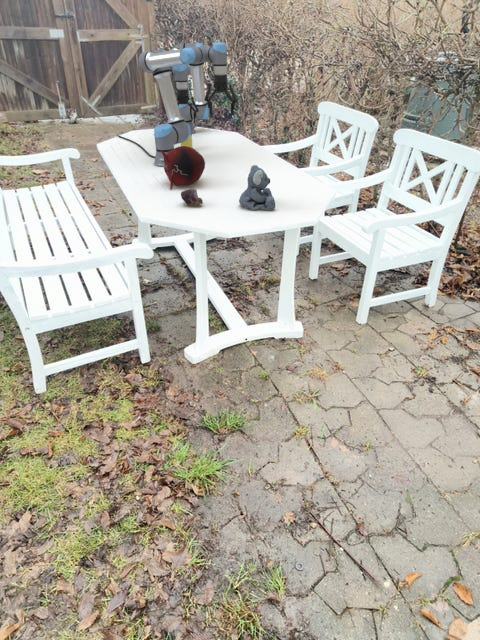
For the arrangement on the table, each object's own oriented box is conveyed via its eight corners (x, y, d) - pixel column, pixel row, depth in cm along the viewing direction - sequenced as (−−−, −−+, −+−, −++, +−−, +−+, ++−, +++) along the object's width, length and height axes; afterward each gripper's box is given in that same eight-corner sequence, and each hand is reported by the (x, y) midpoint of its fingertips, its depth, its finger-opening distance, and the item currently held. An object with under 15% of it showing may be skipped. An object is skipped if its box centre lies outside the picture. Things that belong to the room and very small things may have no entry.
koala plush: (276, 211, 223) (277, 171, 212) (240, 212, 222) (240, 172, 211) (271, 199, 237) (272, 161, 226) (237, 200, 236) (237, 162, 225)
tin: (183, 153, 317) (182, 136, 310) (179, 150, 323) (178, 134, 316) (194, 151, 320) (193, 135, 314) (190, 149, 326) (188, 133, 320)
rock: (196, 202, 238) (178, 205, 233) (194, 185, 234) (176, 188, 230) (205, 205, 228) (187, 208, 224) (203, 188, 224) (185, 191, 220)
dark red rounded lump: (162, 151, 264) (156, 150, 240) (201, 143, 263) (199, 140, 240) (172, 188, 271) (167, 190, 247) (209, 180, 270) (208, 181, 246)
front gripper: (243, 74, 255) (243, 114, 267) (202, 73, 262) (204, 112, 274) (239, 75, 249) (239, 116, 261) (197, 74, 256) (199, 114, 268)
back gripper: (163, 90, 294) (166, 124, 306) (201, 89, 297) (203, 123, 309) (163, 88, 300) (166, 122, 312) (200, 87, 303) (202, 121, 315)
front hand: (221, 114), depth 268 cm, fingers open, 13 cm apart
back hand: (184, 123), depth 311 cm, fingers open, 13 cm apart
